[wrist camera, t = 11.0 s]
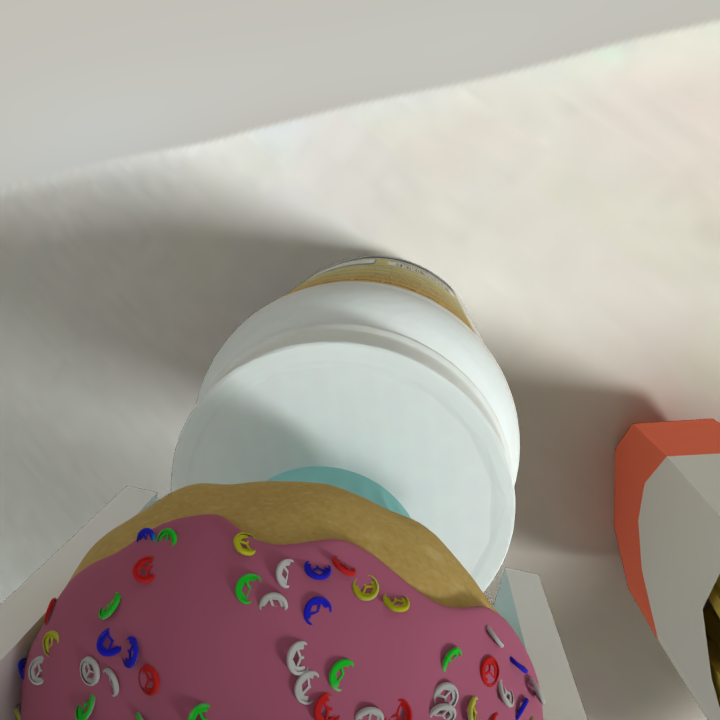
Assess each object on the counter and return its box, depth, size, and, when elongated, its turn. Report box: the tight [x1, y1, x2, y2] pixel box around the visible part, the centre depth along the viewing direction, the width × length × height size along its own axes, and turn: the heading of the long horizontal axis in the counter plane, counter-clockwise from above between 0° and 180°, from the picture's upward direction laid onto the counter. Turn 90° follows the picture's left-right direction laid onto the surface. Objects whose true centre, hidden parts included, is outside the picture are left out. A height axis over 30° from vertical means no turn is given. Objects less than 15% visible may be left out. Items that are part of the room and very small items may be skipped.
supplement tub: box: [171, 256, 520, 592], centre depth 23 cm, size 12×12×17 cm
